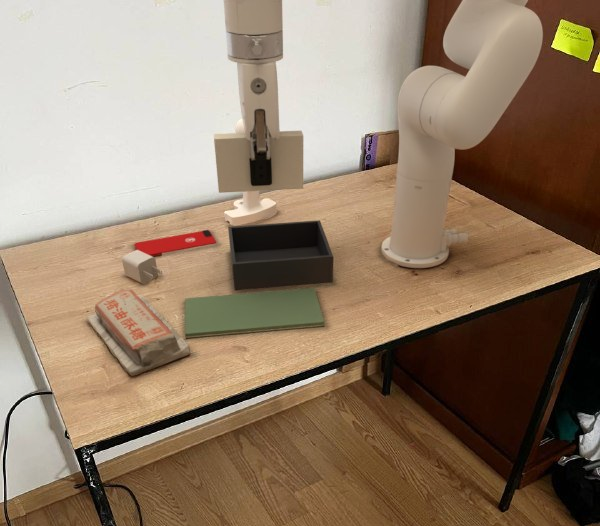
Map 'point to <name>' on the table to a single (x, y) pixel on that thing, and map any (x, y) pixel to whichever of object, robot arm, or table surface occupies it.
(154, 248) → the electronic device
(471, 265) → the table surface
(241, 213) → the joystick
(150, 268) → the usb wall charger
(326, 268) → the bin
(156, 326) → the packaged product
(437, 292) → the table surface
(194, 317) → the mat
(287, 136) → the board
